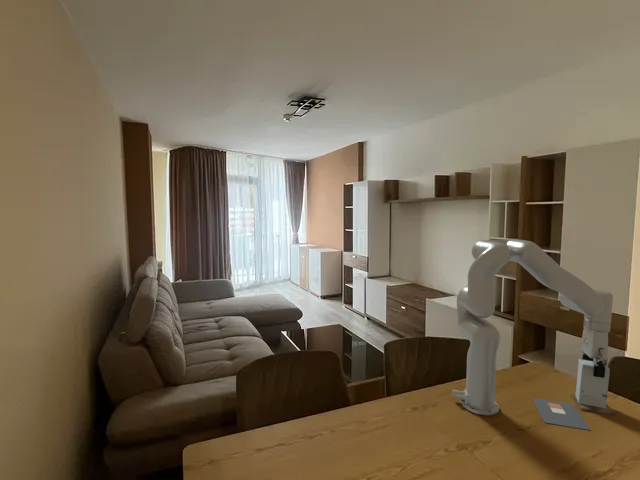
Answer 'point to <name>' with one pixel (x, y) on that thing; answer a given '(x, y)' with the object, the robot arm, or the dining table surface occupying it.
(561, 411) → the gray tile
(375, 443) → the dining table surface
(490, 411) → the robot arm
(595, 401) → the skincare box
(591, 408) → the coaster
